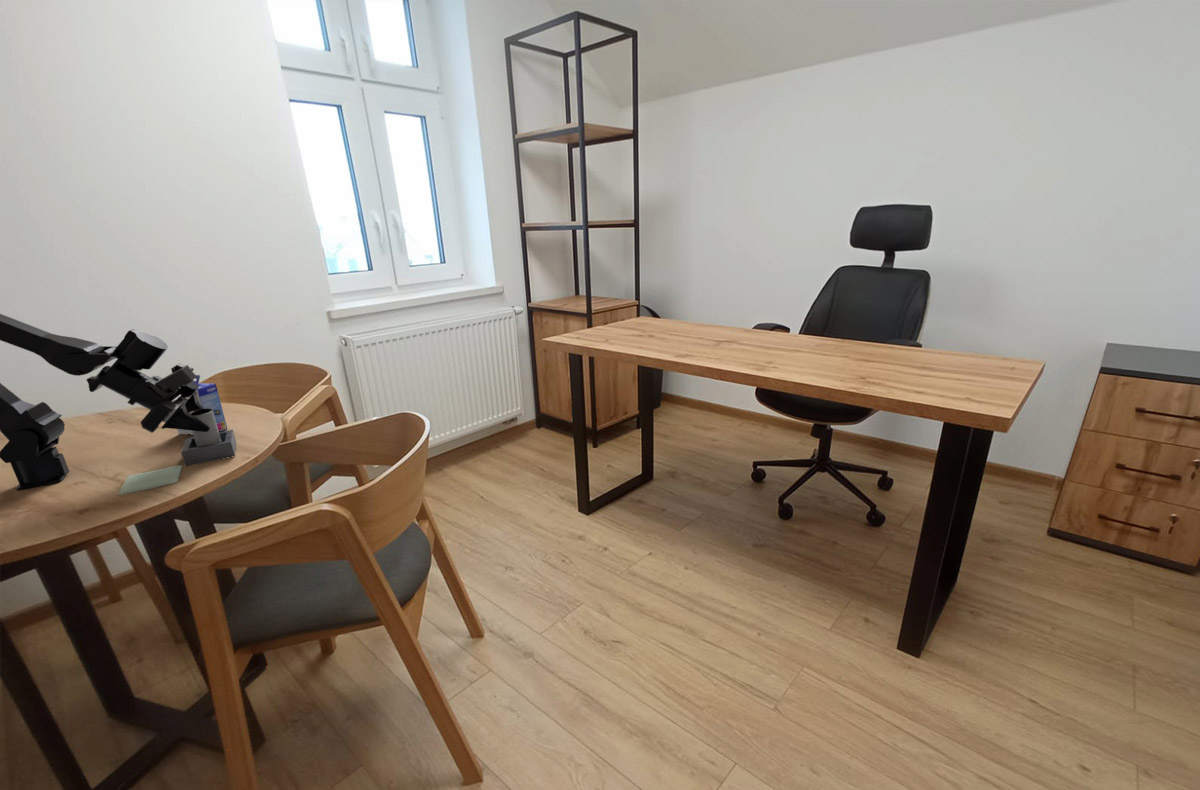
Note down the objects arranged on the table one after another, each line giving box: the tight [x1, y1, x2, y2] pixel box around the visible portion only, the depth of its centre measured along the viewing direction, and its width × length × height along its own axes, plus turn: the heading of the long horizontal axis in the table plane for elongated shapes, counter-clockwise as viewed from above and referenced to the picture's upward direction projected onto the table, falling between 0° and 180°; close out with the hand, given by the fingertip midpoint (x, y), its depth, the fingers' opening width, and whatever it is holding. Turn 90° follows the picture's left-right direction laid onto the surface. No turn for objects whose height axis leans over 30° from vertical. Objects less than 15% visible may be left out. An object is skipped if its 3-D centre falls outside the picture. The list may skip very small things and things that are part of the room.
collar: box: [180, 429, 237, 467], centre depth 118 cm, size 9×9×4 cm
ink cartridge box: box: [176, 374, 228, 436], centre depth 130 cm, size 10×6×14 cm, turn 78°
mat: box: [117, 464, 184, 496], centre depth 107 cm, size 9×9×1 cm
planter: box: [190, 409, 222, 447], centre depth 117 cm, size 4×4×10 cm
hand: (212, 426), depth 117 cm, fingers closed on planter, 4 cm apart
